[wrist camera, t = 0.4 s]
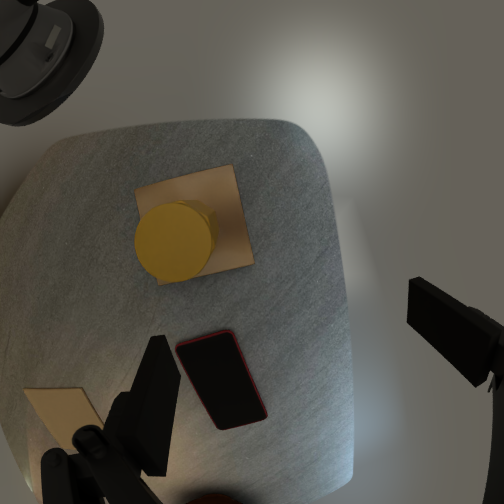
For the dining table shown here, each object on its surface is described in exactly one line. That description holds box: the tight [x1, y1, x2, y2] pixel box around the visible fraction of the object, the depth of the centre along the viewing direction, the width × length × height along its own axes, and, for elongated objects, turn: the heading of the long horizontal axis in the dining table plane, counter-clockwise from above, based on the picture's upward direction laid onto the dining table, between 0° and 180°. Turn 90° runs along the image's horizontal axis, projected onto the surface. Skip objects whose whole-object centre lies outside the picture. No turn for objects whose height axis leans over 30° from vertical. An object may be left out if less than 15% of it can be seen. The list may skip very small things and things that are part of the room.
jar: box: [134, 200, 219, 282], centre depth 22 cm, size 5×5×11 cm
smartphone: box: [175, 330, 268, 430], centre depth 34 cm, size 7×1×15 cm
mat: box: [23, 388, 104, 450], centre depth 34 cm, size 14×14×1 cm
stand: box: [134, 164, 255, 286], centre depth 27 cm, size 10×10×8 cm
